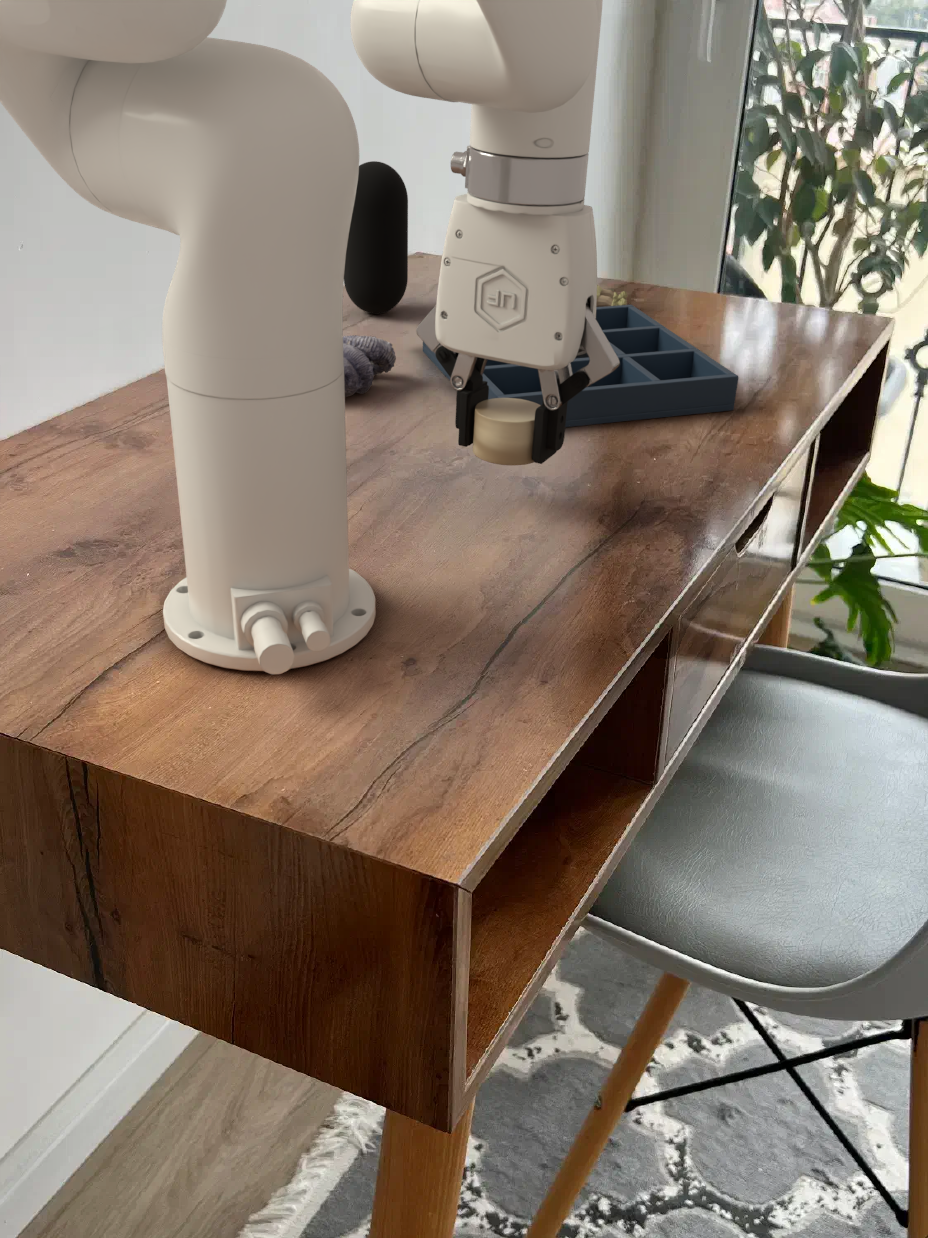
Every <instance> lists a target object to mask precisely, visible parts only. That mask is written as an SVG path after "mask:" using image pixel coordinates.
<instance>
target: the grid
mask: <svg viewBox="0 0 928 1238" xmlns="http://www.w3.org/2000/svg"><path fill="white" fill-rule="evenodd" d="M596 320H597V322H598V324H599V326H600V327H601V329H602V331H603V333H604V334H605V336H606V338H607V340H608V341H609V343H610V345H611V346H612V348H613V350H614V352H615V353H616V355H617V357H618V359H619V361H620V365H619V367H618V368H617V369H616V370H614V371H613V372H611V373H610V374H608V375H607V376H605V377H603V378H601V379H600V380H598V381H596V382H595V383H593V384H591V385H589V386H588V387H586V388H585V389H583V390H582V391H581V392H579V393H578V394H577V395H576V396H574V397H573V398H572V399H570V400H569V401H568V403H567V414H566V425H565V428H571V427H581V426H590V425H601V424H611V423H619V422H631V421H642V420H651V419H659V418H670V417H681V416H690V415H691V416H692V415H700V414H701V415H702V414H709V413H720V412H729V411H734V410H735V403H736V396H737V390H738V383H739V375H738V374H736V373H734V372H733V371H732V370H730V369H728V368H727V367H725V366H723V365H722V364H721V363H719V362H718V361H716V360H715V359H714V358H713V357H711V356H709V355H707V354H706V353H704V352H703V351H702V350H700V349H698V348H697V347H695V346H694V345H692V344H691V343H689V342H688V341H687V340H686V339H684V338H682V337H680V336H679V335H678V334H676V333H675V332H673V331H672V330H670V329H669V328H667V327H666V326H664V325H663V324H662V323H660V322H658V321H657V320H656V319H654V318H652V317H650V316H649V315H648V314H646V313H645V312H643V311H642V310H640V309H639V308H638V307H636V306H635V305H633V304H626V305H618V306H604V307H596ZM422 353H423V354H424V355H426V357H427V358H428V359H429V360H430V361H431V362H432V364H434V365H435V366H436V368H437V369H438V370H439V371H440V372H441V373H442V374H443V375H444V376H445V377H446V379H447V380H448V381H450V376H449V375H448V374H447V372H446V371H445V369H444V368H443V367H442V365H441V364H440V363H439V361H438V360H437V358H436V354H435V353H434V352H432V351H431V350H430V349H429V347H428V346H427V345H426V344H425V343H424V342H423V341H422ZM588 364H589V356H588V354H587V353H585V354H582V355H577V356H576V358H575V359H574V361H572V362H571V368H572V374H574V373H576V372H577V371H579V370H580V369H581V368H583V367H585V366H587V365H588ZM482 376H483V381H487V385H488V386H489V394H488V399H494V398H516V399H523V400H528V401H531V402H534V403H537V404H539V405H542V402H543V395H542V389H541V384H540V379H539V373H538V369H536V368H530V367H525V366H520V365H515V364H510V363H505V362H499V361H494V360H489V359H488V361H487V364H486V366H485V369H484V372H483V375H482Z"/></svg>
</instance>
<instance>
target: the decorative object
mask: <svg viewBox="0 0 928 1238" xmlns="http://www.w3.org/2000/svg"><path fill="white" fill-rule="evenodd" d="M408 266H409V196H408V191H407V187H406V185H405V182H404V180H403V178H402V177H401V175H400V174H399V172H398V171H397V170H396V169H394V168H393V167H392V166H391V165H389V164H387V163H384V162H382V161H378V160H377V161H376V160H374V161H367V162H363V163H362V164H359V174H358V183H357V189H356V196H355V202H354V207H353V213H352V218H351V224H350V229H349V235H348V242H347V250H346V258H345V270H344V289H345V291H346V294H347V295H348V297H349V299H350V300H351V302H352V303H353V304H354V305H355V306H356V307H357V308H358V309H360V310H361V311H363V312H365V313H368V314H374V315H379V314H384V313H387V312H389V311H391V310H392V309H394V308H395V307H396V306H397V305H399V303H400V302H401V301H402V299H403V297H404V296H405V293H406V290H407V287H408V280H409V276H408V274H409V272H408V271H409V269H408V268H409V267H408Z"/></svg>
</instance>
